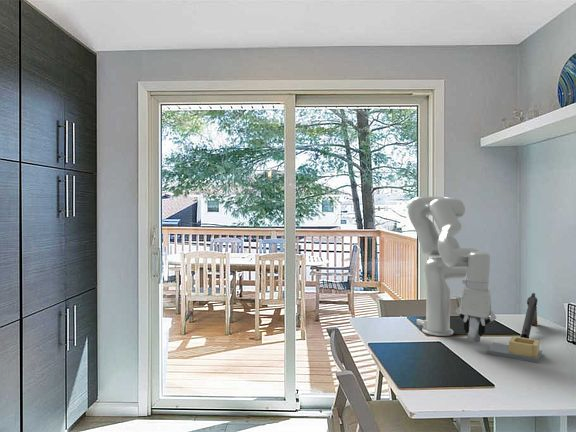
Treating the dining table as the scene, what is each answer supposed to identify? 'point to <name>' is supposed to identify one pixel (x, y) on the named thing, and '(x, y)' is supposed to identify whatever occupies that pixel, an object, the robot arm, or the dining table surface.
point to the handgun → (530, 316)
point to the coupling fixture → (518, 349)
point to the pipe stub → (474, 329)
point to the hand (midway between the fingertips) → (474, 333)
